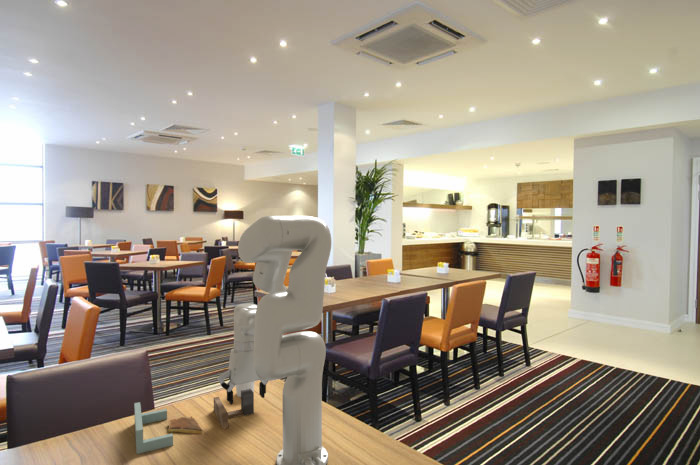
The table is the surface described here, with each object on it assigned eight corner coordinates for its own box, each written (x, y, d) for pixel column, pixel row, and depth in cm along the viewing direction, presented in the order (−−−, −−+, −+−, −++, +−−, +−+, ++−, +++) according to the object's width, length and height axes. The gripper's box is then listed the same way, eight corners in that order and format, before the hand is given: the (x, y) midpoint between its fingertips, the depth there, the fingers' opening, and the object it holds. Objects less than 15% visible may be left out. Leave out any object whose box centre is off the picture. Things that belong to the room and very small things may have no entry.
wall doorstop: (258, 420, 121) (258, 398, 121) (222, 428, 116) (222, 406, 116) (246, 403, 133) (246, 383, 133) (213, 410, 128) (213, 389, 128)
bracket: (173, 445, 108) (172, 422, 108) (136, 454, 104) (136, 430, 104) (166, 416, 124) (166, 397, 123) (134, 423, 119) (134, 403, 119)
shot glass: (230, 396, 138) (230, 376, 138) (241, 388, 144) (241, 369, 144) (248, 399, 136) (248, 378, 136) (259, 391, 142) (259, 371, 142)
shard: (202, 435, 114) (202, 429, 114) (173, 444, 109) (173, 437, 109) (192, 420, 123) (192, 414, 123) (164, 427, 118) (164, 421, 118)
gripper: (270, 337, 133) (270, 389, 134) (215, 345, 125) (215, 400, 126) (277, 344, 127) (277, 398, 128) (220, 352, 118) (220, 410, 119)
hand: (246, 399), depth 127 cm, fingers open, 9 cm apart
